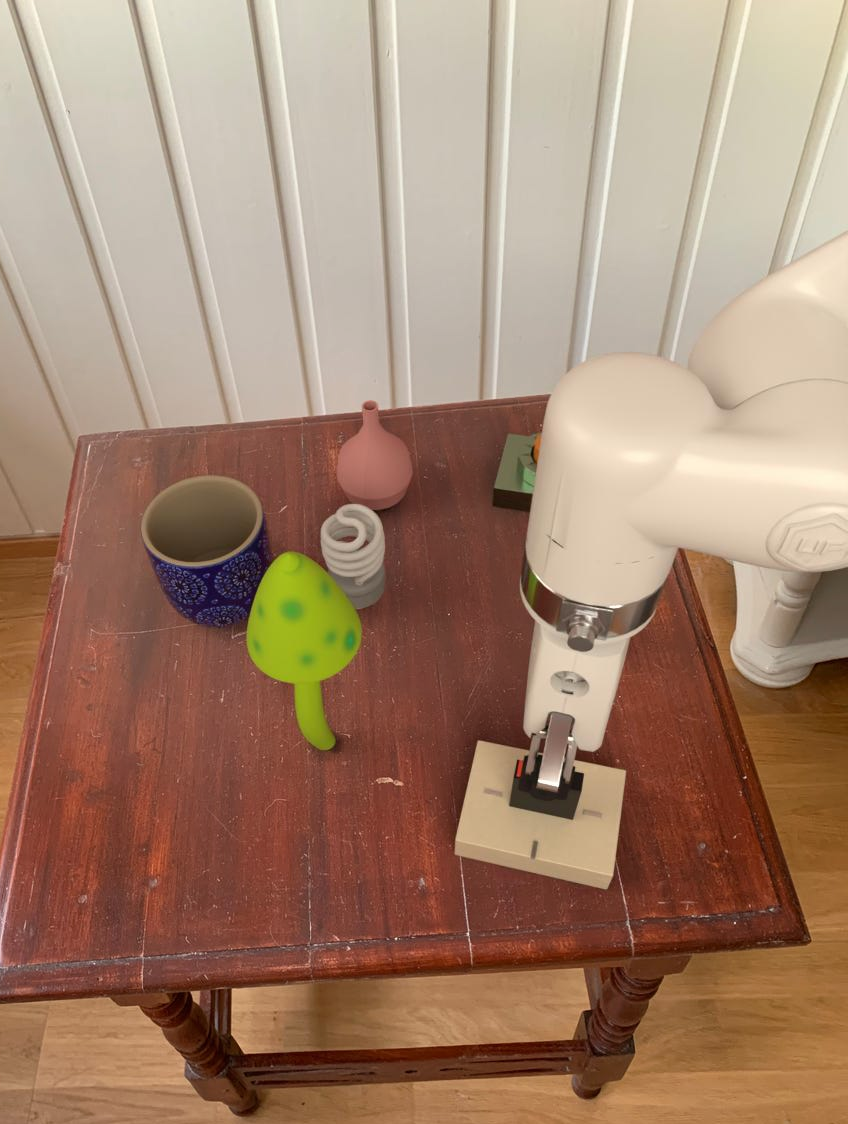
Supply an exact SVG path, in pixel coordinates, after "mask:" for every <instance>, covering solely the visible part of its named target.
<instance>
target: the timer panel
mask: <svg viewBox="0 0 848 1124" xmlns="http://www.w3.org/2000/svg"><path fill="white" fill-rule="evenodd" d="M529 751H530V750H528V749H524V748H519V747H513V746H508V745H503V744H498V743H494V742H489V741H483V740H477V742H476V745H475V751H474V755H473V760H472V763H471V769H470V773H469V777H468V782H467V786H466V789H465V793H464V794H465V795H464V799H463V804H462V808H461V812H460V817H459V822H458V826H457V830H456V834H455V839H454V855H455V856H458V857H463V858H467V859H471V860H476V861H480V862H484V863H488V864H494V865H497V866H501V867H502V866H503V867H505V868H506V867H507V868H511V869H516V870H518V871H519V870H520V871H524V872H529V873H533V874H536V875H542V876H546V877H550V878H555V879H559V880H563V881H567V882H572V883H577V884H581V885H584V886H590V887H593V888H598V889H602V890H608V888H609V887H610V884H611V881H612V879H613V877H614V873H615V865H616V857H617V850H618V842H619V841H618V840H619V833H620V826H621V825H620V824H621V817H622V810H623V809H622V808H623V801H624V792H625V785H626V778H627V777H626V775H627V770H626V769H621V768H616V767H612V766H606V765H602V764H596V763H591V762H587V761H581V760H576V759H574V764H573V766H575V771H576V772H581V773H584V779H583V786H582V792H581V795H580V799H579V802H578V805H577V809H576V812H575V815H574V819H573V820H570V819H565V818H561V817H556V816H552V815H547V814H542V813H538V812H533V811H529V810H524V809H519V808H515V807H510V806H509V802H510V796H511V790H512V783H513V777H514V772H515V767H516V762H517V760H524V755H525V756H527V755H529ZM538 754H540V755H543V752H538ZM538 754H537V756H538ZM564 761H565V757H564Z"/></svg>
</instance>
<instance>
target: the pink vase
mask: <svg viewBox="0 0 848 1124" xmlns="http://www.w3.org/2000/svg"><path fill="white" fill-rule="evenodd" d="M361 413H362V423H363V424H362V426H361V427H360V429H359V431H358V433H357V434H355V435H353V436H351V437H350V438H349V439H348V440H347V441H346V442H344V443H343V444H342V445H341V448H340V450H339V453H338V456H337V464H336V480H337V482H338V484H339V486H340V487H341V490H342V491H343V493H344V495H345V497H346V498H347V499H348V501H349V502H350V503H351V504H361V505H363V506H366V507H368V508H369V509H371V510H372V511H380V510H384V509H389V508H391V507H393V506H395V505H396V504H399V502H400V501H401V500H402V499H403V498H404V497H405V495H406V492H407V491H408V487H409V485H410V482H411V480H412V477H413V474H414V473H413V472H414V471H413V463H412V459H411V457H410V453H409V449H408V447H407V445H406V444H405V442H404V441H403V440H402V439H401V438H399V437H397V436H396V435H395V434H392V433H390V432H388V431H387V430H385V428H384V427H383V426H382V425H381V423H380V417H379V416H380V415H379V403H378V402H377V401H375V400H366V401H364V402H363V403H362V404H361Z"/></svg>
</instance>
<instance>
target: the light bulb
mask: <svg viewBox="0 0 848 1124" xmlns="http://www.w3.org/2000/svg"><path fill="white" fill-rule="evenodd" d="M349 537H353V538H355V539H354V540H352V541H350V542H348V541H344V540H340V539H343V538H349ZM365 542H368V544H367V545H365V546H364V547H363V545H364V544H365ZM320 547H321V554H322V557H323V559H324V562H325V565H326V567H327V571H326V572H327V573H328V574H329V575H330V576H331V577H332V578H333V579H334V580H335V582H336V583H337V584H338V585H339V587H340V588H341V589H342V590H343V592H344V593H345V594H346V596H347V597H348V599H349V600H350V602H351V603H352V605H353V607H354V608H355V610H360V609H365V608H368V607H370V606H372V605H374V604H375V603H377V602H378V601H379V600H380V598H382V596H383V594H384V592H385V585H386V576H387V575H386V569H385V564H384V559H385V553H386V537H385V531H384V527H383V522H382V520H381V518H380V517H379V516H378V514H377V513H376V512H375V510H371V509H369V508H368V507H366V506H363V505H361V504H353V503H348V504H344V505H342V506H341V507H339V508H338V509H337V510H336V512H335V513H334V514H332V515H330V516H329V517H327V518H326V519H325V520H324V522H323V523H322V525H321V528H320Z"/></svg>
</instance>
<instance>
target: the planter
mask: <svg viewBox="0 0 848 1124" xmlns="http://www.w3.org/2000/svg"><path fill="white" fill-rule="evenodd" d="M140 535H141V539H142V543H143V545H144V549H145V552H146V554H147V557H148V560H149V563H150V565H151V568H152V570H153V572H154V575H155V577H156V579H157V582H158V584H159V586H160V588H161V590H162V592H163V594H164V596H165V598H166V599H167V602H168V603H169V604H170V606H172V608H173V609H174V610H175V612H177V614H179V615H180V617H183V618H184V619H185V620H188V621H189V622H191V623H193V624H196V625H199V626H202V627H206V628H216V629H217V628H218V629H219V628H228V627H233V626H236V625H239V624H241V623H244V622H245V621H248V620H249V616H250V612H251V609H252V605H253V602H254V598H255V595H256V593H257V590H258V587H259V585H260V583H261V580H262V578H263V577H264V575H265V573H266V571H267V570H268V568H269V567H270V565H271V564H272V563H273V562H274V561H275V559H274V553H273V546H272V541H271V536H270V530H269V526H268V522H267V518H266V513H265V510H264V507H263V503H262V501H261V499H260V497H259V496H258V494H257V493H256V492H255V490H253V489H252V488H251V487H250V486H249V485H247V484H246V483H244V482H243V481H240V480H238V479H235V478H233V477H229V476H224V475H216V474H209V475H208V474H207V475H197V476H193V477H188V478H185V479H181V480H179V481H177V482H176V483H173V484H171V485H170V486H168V487H166V488H165V489H163V490H162V491H160V493H158V494H157V495H156V496H155V497H154V498H153V499H152V500H151V501H150V503H149V504H148V505H147V507H146V508H145V510H144V512H143V514H142V517H141V522H140Z"/></svg>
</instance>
